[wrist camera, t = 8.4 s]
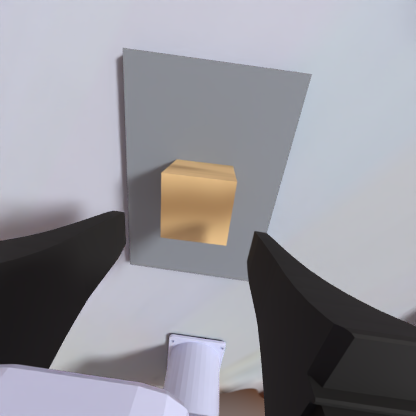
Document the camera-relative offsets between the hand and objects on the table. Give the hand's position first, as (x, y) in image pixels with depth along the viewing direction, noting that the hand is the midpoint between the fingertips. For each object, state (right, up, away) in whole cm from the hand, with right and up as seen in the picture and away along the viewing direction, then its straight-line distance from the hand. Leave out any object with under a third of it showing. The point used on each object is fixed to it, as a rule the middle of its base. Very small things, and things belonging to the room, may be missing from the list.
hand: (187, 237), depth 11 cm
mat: (+1, +4, +9) cm, 9 cm away
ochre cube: (+1, +3, +8) cm, 8 cm away
